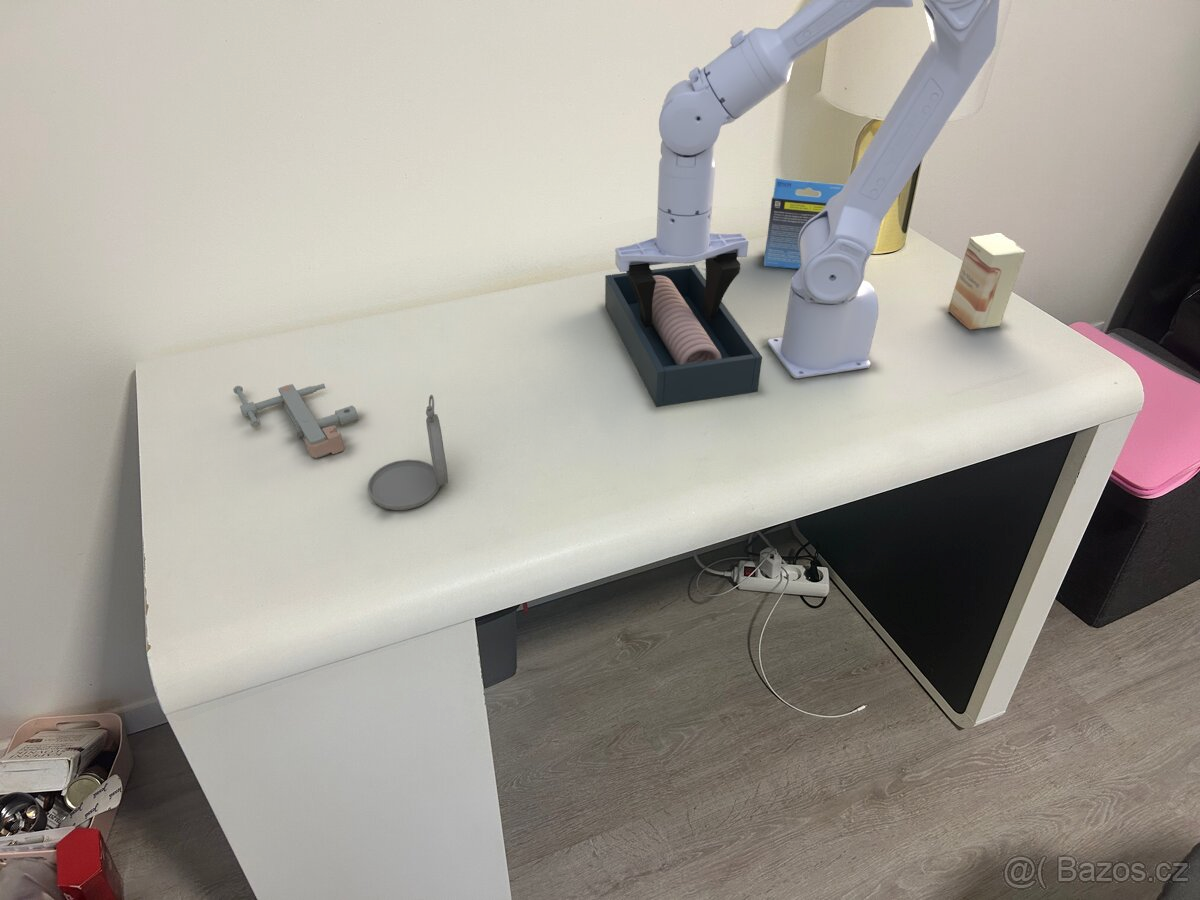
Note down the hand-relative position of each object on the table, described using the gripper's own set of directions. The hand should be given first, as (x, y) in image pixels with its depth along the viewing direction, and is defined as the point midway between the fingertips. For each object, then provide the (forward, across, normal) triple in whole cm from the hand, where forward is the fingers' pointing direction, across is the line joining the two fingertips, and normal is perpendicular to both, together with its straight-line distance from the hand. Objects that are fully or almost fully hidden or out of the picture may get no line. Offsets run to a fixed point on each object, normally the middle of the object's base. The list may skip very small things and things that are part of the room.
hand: (677, 318), depth 97 cm
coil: (+3, 0, 0) cm, 3 cm away
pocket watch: (+4, +32, +18) cm, 36 cm away
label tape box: (+4, -22, -16) cm, 28 cm away
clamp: (+4, +42, +4) cm, 43 cm away
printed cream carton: (+4, -38, +3) cm, 38 cm away
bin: (+4, 0, 0) cm, 4 cm away
